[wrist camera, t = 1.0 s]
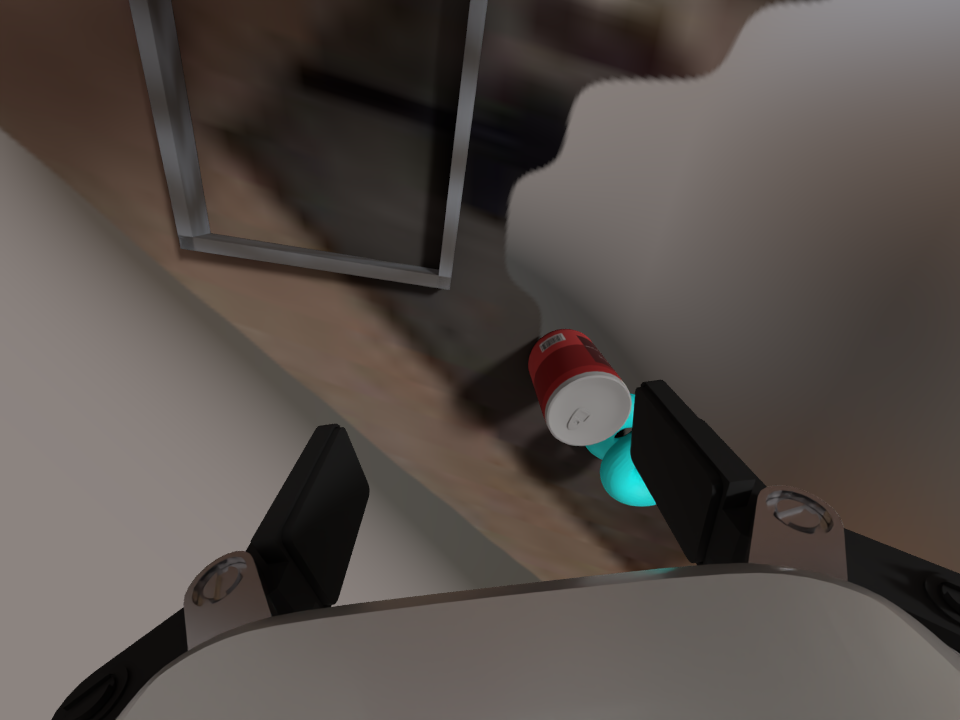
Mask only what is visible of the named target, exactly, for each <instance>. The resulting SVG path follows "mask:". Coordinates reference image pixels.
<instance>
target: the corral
mask: <svg viewBox="0 0 960 720" xmlns="http://www.w3.org/2000/svg"><path fill="white" fill-rule="evenodd" d="M487 1H488V0H470V8H469V17H468V26H467V34H466V43H465V52H464V60H463V69H462V78H461V86H460V95H459V104H458V112H457V121H456V129H455V138H454V147H453V155H452V164H451V173H450V181H449V190H448V199H447V207H446V216H445V225H444V233H443V242H442V251H441V259H440V268H439V270H438V269H432V268H426V267H419V266H413V265H407V264H401V263H394V262H388V261H382V260H375V259H369V258H363V257H357V256H350V255H344V254H338V253H331V252H325V251H319V250H313V249H306V248H300V247H294V246H287V245H281V244H275V243H269V242H262V241H256V240H250V239H244V238H237V237H231V236H225V235H218V234H212V233H210V227H209V221H208V215H207V210H206V204H205V198H204V192H203V186H202V180H201V174H200V168H199V162H198V156H197V151H196V145H195V139H194V133H193V127H192V121H191V115H190V109H189V103H188V97H187V92H186V86H185V80H184V74H183V68H182V62H181V56H180V50H179V44H178V39H177V33H176V27H175V21H174V15H173V9H172V3H171V0H129V4H130V8H131V13H132V18H133V23H134V27H135V32H136V37H137V42H138V47H139V51H140V56H141V61H142V66H143V70H144V75H145V80H146V85H147V89H148V94H149V99H150V104H151V109H152V113H153V118H154V123H155V128H156V132H157V137H158V142H159V147H160V151H161V156H162V161H163V166H164V171H165V175H166V180H167V185H168V190H169V194H170V199H171V204H172V209H173V213H174V218H175V223H176V228H177V233H178V237H179V242H180V247H181V249H187V250H193V251H200V252H206V253H213V254H219V255H226V256H232V257H239V258H245V259H252V260H258V261H265V262H272V263H278V264H285V265H291V266H298V267H304V268H311V269H317V270H324V271H330V272H337V273H343V274H350V275H356V276H363V277H369V278H376V279H382V280H389V281H395V282H402V283H408V284H415V285H422V286H428V287H435V288H441V289H448V290H449V289H450V282H451V274H452V267H453V259H454V251H455V244H456V236H457V229H458V221H459V214H460V206H461V198H462V191H463V183H464V176H465V168H466V160H467V153H468V145H469V138H470V130H471V123H472V115H473V107H474V100H475V92H476V85H477V77H478V69H479V62H480V54H481V47H482V39H483V32H484V24H485V16H486V9H487Z"/></svg>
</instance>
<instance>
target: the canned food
mask: <svg viewBox="0 0 960 720" xmlns="http://www.w3.org/2000/svg"><path fill="white" fill-rule="evenodd" d="M528 369H529V373H530V376H531V379H532V382H533V385H534V389H535V392H536V395H537V398H538V401H539V404H540V407H541V410H542V413H543V416H544V419H545V422H546V424H547V426H548V428H549V430H550V432H551V433H552V435H553V436H554V437H555V438H556V439H558V440H559V441H561V442H563V443H566V444H568V445H573V446H587V445H592V444H596V443H599V442H601V441H604V440H606V439H607V438H609V437H611V436H612V435H614V434H615V433H616V432H617V431H618V430H619V429H620V428H621V427H622V426H623V425H624V424H625V422H626V420H627V419H628V417H629V414H630V411H631V405H632V401H631V395H630V393H629V390H628V389H627V387H626V385H625V384H624V382H623V381H622V380H621V378H620V377H619V376H618V375H617V373H616V372H615V370H614V369H613V368H612V367H611V366H610V364H609V363H608V362H607V360H606V359H605V358H604V357H603V355H602V354H601V353H600V352H599V350H598V349H597V348H596V347H595V345H594V344H593V343H592V342H591V340H590V339H589V338H588V337H587V336H585V335H584V334H583V333H581V332H578V331H575V330H571V329H559V330H555V331H552V332H550V333H548V334H546V335H545V336H543V337H542V338H540V339H539V340H538V342H537V343H536V344H535V345H534V347H533V348H532V351H531V353H530V356H529V361H528Z"/></svg>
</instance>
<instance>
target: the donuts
mask: <svg viewBox="0 0 960 720" xmlns="http://www.w3.org/2000/svg"><path fill="white" fill-rule="evenodd" d="M630 395H631V401H632V405H631V411H630V414H629V417H628V419H627V420H626V422H625V424H624V425H623V426H622V427H621V428H620V429H619V430H618V431H617V432H616V433H615V434H614V435H612V436H611V437H609V438H607V439H606V440H604V441H601V442H599V443H596V444H592V445H587V446H586V448H587V449H588V450H589V451H590V452H591V453H592V454H593V455H595V456H596V457H598V458H600V459H602V463H601V467H600V477H601V482H602V484H603V486H604V488H605V490H606V491H607V492H608V494H609V495H610V496H611V497H613V498H614V499H616V500H617V501H619V502H621V503H624V504H627V505H631V506H651V505H655V504H656V503H655V501H654V499H653V497H652V496H651V494H650V492H649V490H648V489H647V487H646V485H645V483H644V482H643V480H642V478H641V476H640V474H639V473H638V471H637V469H636V468H635V466H634V464H633V462H632V459H631V455H630V447H631V435H632V431H631V432H630V433H628V434H627V435H625V436H622V437H619V438H614V437H615V435H616V434H617V433H618V432H619V431H620V430H622V429H624V428H632V424H633V412H634V401H635V394H630Z"/></svg>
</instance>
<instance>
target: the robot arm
mask: <svg viewBox="0 0 960 720" xmlns="http://www.w3.org/2000/svg"><path fill="white" fill-rule="evenodd" d="M630 455H631V459H632V462H633V464H634V466H635V467H636V469H637V471H638V473H639V474H640V476H641V478H642V480H643V482H644V483H645V485H646V487H647V489H648V490H649V492H650V494H651V496H652V497H653V499H654V501H655V503H656V504H657V506H658V508H659V510H660V511H661V513H662V515H663V517H664V519H665V520H666V522H667V524H668V526H669V527H670V529H671V531H672V533H673V534H674V536H675V538H676V540H677V541H678V543H679V545H680V547H681V549H682V550H683V552H684V554H685V556H686V557H687V559H688V560H689V561H690V562H691V563H696V564H697V566H686V567H675V568H664V569H653V570H643V571H634V572H625V573H616V574H607V575H598V576H588V577H579V578H570V579H561V580H552V581H543V582H535V583H526V584H517V585H508V586H500V587H492V588H483V589H474V590H466V591H456V592H448V593H439V594H431V595H424V596H415V597H406V598H399V599H391V600H382V601H373V602H366V603H358V604H349V605H342V606H336V607H331V605H333V604H335V603H336V602H337V600H338V598H339V595H340V591H341V588H342V585H343V581H344V578H345V574H346V571H347V568H348V564H349V561H350V558H351V555H352V551H353V547H354V544H355V541H356V538H357V534H358V531H359V527H360V524H361V521H362V518H363V514H364V511H365V508H366V504H367V501H368V498H369V485H368V482H367V480H366V477H365V475H364V472H363V470H362V468H361V465H360V463H359V460H358V458H357V456H356V453H355V451H354V448H353V446H352V443H351V441H350V439H349V436H348V434H347V432H346V430H345V428H344V427H341V428H340V426H339V425H338V424H329V425H323V426H318V427H317V428H316V430H315V431H314V433H313V435H312V437H311V438H310V440H309V442H308V443H307V445H306V447H305V448H304V450H303V452H302V454H301V455H300V457H299V459H298V460H297V462H296V464H295V466H294V467H293V469H292V471H291V473H290V474H289V476H288V478H287V480H286V481H285V483H284V485H283V486H282V488H281V490H280V491H279V493H278V495H277V497H276V498H275V500H274V502H273V503H272V505H271V507H270V509H269V510H268V512H267V514H266V515H265V517H264V519H263V521H262V522H261V524H260V526H259V527H258V529H257V531H256V533H255V534H254V536H253V538H252V540H251V543H250V545H249V546H248V548H247V550H246V552H245V551H235V552H232V553H228V554H226V555H224V556H222V557H220V558H218V559H216V560H215V561H213V562H212V563H211V564H209V565H208V566H206V567H205V568H204V569H203V570H202V571H201V572H200V573H199V574H198V575H197V576H196V577H195V579H194V580H193V581H192V583H191V584H190V586H189V587H188V590H187V592H186V594H185V597H184V607H183V608H182V609H181V610H179V611H178V612H177V613H175V614H174V615H172V616H171V617H169V618H168V619H167V620H165V621H164V622H163V623H161V624H160V625H158V626H157V627H156V628H154V629H153V630H152V631H150V632H149V633H148V634H146V635H145V636H143V637H142V638H140V639H139V640H138V641H136V642H135V643H134V644H132V645H131V646H129V647H128V648H127V649H126V650H124V651H123V652H121V653H120V654H118V655H117V656H116V657H115V658H113V659H112V660H110V661H109V662H107V663H106V664H105V665H103V666H102V667H100V668H99V669H98V670H96V671H95V672H94V673H93V674H91V675H90V676H89V677H88V678H86V679H85V680H84V681H83V682H81V683H80V684H79V685H78V686H77V687H76V688H75V689H74V691H73V692H72V693H71V694H70V695H69V696H68V697H67V698H66V699H65V701H64V702H63V703H62V705H61V706H60V707H59V709H58V710H57V711H56V712H55V714H54V716H53V718H52V720H960V574H959V573H957V572H954V571H952V570H949V569H946V568H944V567H941V566H939V565H936V564H934V563H931V562H929V561H926V560H923V559H921V558H918V557H916V556H913V555H911V554H908V553H906V552H903V551H901V550H898V549H896V548H893V547H891V546H888V545H885V544H883V543H880V542H878V541H875V540H873V539H870V538H868V537H865V536H863V535H860V534H858V533H855V532H852V531H850V530H847V529H845V528H844V527H843V523H842V520H841V518H840V516H839V515H838V514H837V513H836V511H835V510H834V509H833V508H832V507H831V506H829V505H828V504H827V503H826V502H825V501H823V500H822V499H820V498H818V497H817V496H815V495H813V494H811V493H809V492H806V491H804V490H801V489H798V488H794V487H790V486H782V485H774V486H769V487H766V486H765V485H764V484H763V482H762V481H761V480H760V479H759V478H758V477H757V476H756V475H755V474H754V473H753V472H752V471H751V470H750V469H749V468H748V467H747V465H745V463H744V462H743V461H742V460H741V459H740V458H739V457H738V456H737V455H736V454H735V453H734V452H733V451H732V450H731V449H730V447H729V446H727V444H726V443H725V442H724V441H723V440H722V439H721V438H720V437H719V436H718V435H717V434H716V433H715V432H714V431H713V430H712V428H711V427H710V426H708V424H707V423H705V421H703V420H702V419H700V418H698V417H697V416H696V415H695V414H694V412H693V411H692V410H691V409H690V408H689V407H688V406H687V405H686V404H685V403H684V402H683V401H682V400H681V399H680V398H679V396H678V395H677V394H676V393H675V392H674V391H673V390H672V389H671V388H670V387H669V386H668V385H667V384H666V382H664V381H663V380H656V381H648V382H643V383H642V384H641V387H638V388H637V389H636V391H635V401H634V412H633V424H632V435H631V447H630Z"/></svg>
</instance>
